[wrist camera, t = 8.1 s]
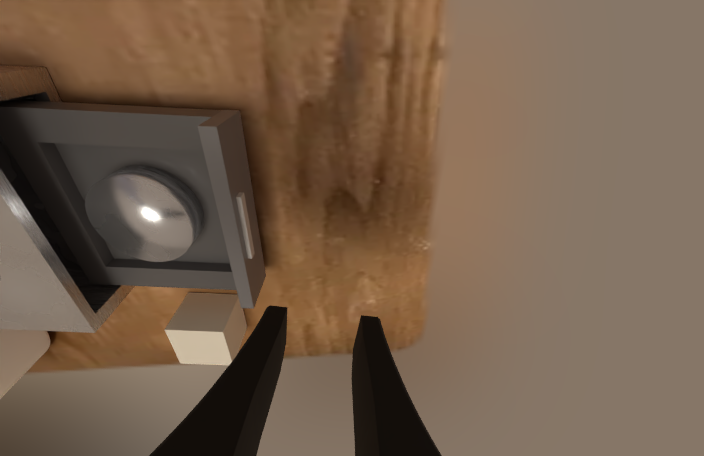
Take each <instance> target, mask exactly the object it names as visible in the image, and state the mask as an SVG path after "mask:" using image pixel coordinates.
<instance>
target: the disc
mask: <svg viewBox="0 0 704 456" xmlns="http://www.w3.org/2000/svg"><path fill="white" fill-rule="evenodd" d="M85 209H86V213H87V216H88V218H89V221H90V222H91V224H92V226H93V227H94V229H95V230H96V231H97V232H98V234H99V235H100V236H101V237H102V238H103V239H104V240H106V241H107V242H108V243H109V244H110V245H112V246H113V247H115V248H116V249H118V250H120V251H121V252H123V253H125V254H127V255H130V256H132V257H135V258H138V259H141V260H146V261H152V262H165V261H170V260H174V259H176V258H179V257H180V256H182V255H183V254H184V253H185V252H186V251H187V250H188V249H189V247H190V246H191V245H192V243H193V242H194V241H195V239H196V238H197V237H198V236H199V234H200V233H201V231H202V229H203V226H204V214H203V210H202V207H201V204H200V202H199V200H198V199H197V197H196V196H195V194H194V193H193V192H192V191H191V190H190V189H189V188H188V187H187V186H186V185H185V184H184V183H183V182H182V181H180V180H179V179H178V178H176V177H175V176H173V175H171V174H169V173H167V172H165V171H163V170H160V169H157V168H154V167H150V166H143V165H133V166H127V167H124V168H121V169H119V170H117V171H116V172H114V173H112V174H111V175H109V176H107V177H106V178H104V179H102V180H100V181H99V182H97V183H96V184H94V185H93V186H92V187H91V188H90V189H89V191H88V193H87V195H86V199H85Z"/></svg>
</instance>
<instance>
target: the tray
mask: <svg viewBox="0 0 704 456" xmlns="http://www.w3.org/2000/svg"><path fill="white" fill-rule="evenodd" d="M0 135H1V137H2V138H3V140H4V142H5V143H6V145H7V146H8V148H9V150H10V151H11V153H12V155H13V156H14V158H15V160H16V161H17V163H18V165H19V166H20V168H21V169H22V171H23V173H24V174H25V176H26V178H27V179H28V181H29V183H30V184H31V186H32V188H33V189H34V191H35V192H36V194H37V196H38V197H39V199H40V201H41V202H42V204H43V206H44V207H45V209H46V210H47V212H48V214H49V215H50V217H51V219H52V220H53V222H54V224H55V225H56V227H57V229H58V230H59V232H60V233H61V235H62V237H63V238H64V240H65V242H66V243H67V245H68V247H69V248H70V250H71V252H72V253H73V255H74V256H75V258H76V260H77V261H78V263H79V265H80V266H81V268H82V270H83V271H84V273H85V275H86V276H87V278H88V279H89V281H90V283H91V284H105V285H129V286H153V287H177V288H201V289H225V290H237V293H238V298H239V302H240V306H241V308H254V306H255V304H256V301H257V298H258V296H259V293H260V290H261V287H262V285H263V282H264V279H265V277H266V273H265V267H264V260H263V254H262V248H261V241H260V235H259V229H258V222H257V216H256V210H255V203H254V197H253V190H252V184H251V178H250V171H249V165H248V159H247V152H246V146H245V139H244V133H243V127H242V120H241V114H240V110H211V109H191V108H170V107H150V106H130V105H109V104H89V103H69V102H49V101H28V100H8V101H4V102H0ZM133 165H143V166H150V167H154V168H157V169H160V170H163V171H165V172H167V173H169V174H171V175H173V176H175V177H176V178H178V179H179V180H180V181H182V182H183V183H184V184H185V185H186V186H187V187H188V188H189V189H190V190H191V191H192V192H193V193H194V194H195V196H196V197H197V199H198V200H199V202H200V204H201V207H202V210H203V214H204V226H203V229H202V231H201V233H200V234H199V236H198V237H197V238H196V239H195V241H194V242H193V243H192V245H191V246H190V247H189V249H188V250H187V251H186V252H185V253H184V254H183V255H182V256H180V257H179V258H176V259H174V260H170V261H165V262H152V261H146V260H141V259H138V258H135V257H132V256H130V255H127V254H125V253H123V252H121V251H120V250H118V249H116V248H115V247H113V246H112V245H110V244H109V243H108V242H107V241H106V240H104V239H103V238H102V237H101V236H100V235H99V234H98V232H97V231H96V230H95V229H94V227H93V226H92V224H91V222H90V221H89V218H88V216H87V213H86V209H85V199H86V195H87V193H88V191H89V189H90V188H91V187H92V186H93V185H94V184H96V183H97V182H99V181H100V180H102V179H104V178H106V177H107V176H109V175H111V174H112V173H114V172H116V171H117V170H119V169H121V168H124V167H127V166H133Z"/></svg>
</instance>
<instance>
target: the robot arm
mask: <svg viewBox="0 0 704 456" xmlns="http://www.w3.org/2000/svg"><path fill="white" fill-rule="evenodd" d="M286 329H287V307H279V306H269V307H267V308H266V310H265V312H264V314H263V316H262V318H261V319H260V321H259V323H258V324H257V326H256V328H255V329H254V331H253V332H252V334H251V335H250V337H249V338H248V340H247V341H246V343H245V344H244V346H243V347H242V348H241V350H240V351H239V353H238V354H237V355H236V357H235V358H234V360H233V361H232V362H231V364H230V365H229V366H228V368H227V369H226V370H225V371H224V373H223V374H222V375H221V377H220V378H219V379H218V380H217V382H216V383H215V384H214V385H213V387H212V388H211V389H210V390H209V392H208V393H207V394H206V395H205V396H204V397H203V399H202V400H201V401H200V402H199V403H198V405H196V407H195V408H194V409H193V410H192V411H191V412H190V413H189V414H188V416H187V417H186V418H185V419H184V420H183V421H182V422H181V423H180V424H179V425H178V426H177V427H176V429H175V430H174V431H173V432H172V433H171V434H170V435H169V436H168V437H167V438H166V439H165V440H164V441H163V442H162V443H161V444H160V445H159V446H158V447H157V448H156V449H155V450H154V451H153V452H152V453H151V454H150V456H256V454H257V450H258V447H259V443H260V439H261V435H262V432H263V429H264V425H265V422H266V418H267V415H268V412H269V409H270V405H271V402H272V398H273V395H274V391H275V388H276V385H277V381H278V378H279V374H280V371H281V366H282V361H283V356H284V351H285V345H286ZM352 394H353V414H354V433H355V434H354V435H355V456H441V454H440V452H439V451H438V449H437V447H436V446H435V444H434V442H433V440H432V439H431V437H430V435H429V433H428V432H427V430H426V428H425V426H424V424H423V422H422V420H421V418H420V417H419V415H418V413H417V411H416V409H415V407H414V405H413V403H412V400H411V398H410V397H409V394H408V392H407V390H406V388H405V386H404V384H403V381H402V379H401V376H400V374H399V372H398V369H397V367H396V365H395V362H394V360H393V357H392V355H391V352H390V349H389V346H388V344H387V341H386V338H385V335H384V332H383V328H382V325H381V321H380V319H379V318H378V317H371V316H362V315H361V319H360V323H359V327H358V331H357V335H356V339H355V343H354V348H353V362H352Z"/></svg>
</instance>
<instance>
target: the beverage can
mask: <svg viewBox="0 0 704 456" xmlns="http://www.w3.org/2000/svg"><path fill="white" fill-rule="evenodd" d="M49 346H50V337H49V334H48V332H47V331H39V330H14V329H0V399H1V397H3V396H4V395H5V394H6V392H7V391H8V390H9V389H10V388H11V387H12V386H13V385H14V384H15V383H16V382H17V381H18V380H19V379H20V378H21V377H22V376H23V375H24V374H25V373H26V372H27V371H28V370H29V369H30V368H31V367H32V365H33V364H34V363H35V362H36V361H37V360H38V359H39V358H40V357H41V356H42V355H43V354H44V353H45V352H46V351H47V350H48V348H49Z"/></svg>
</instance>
